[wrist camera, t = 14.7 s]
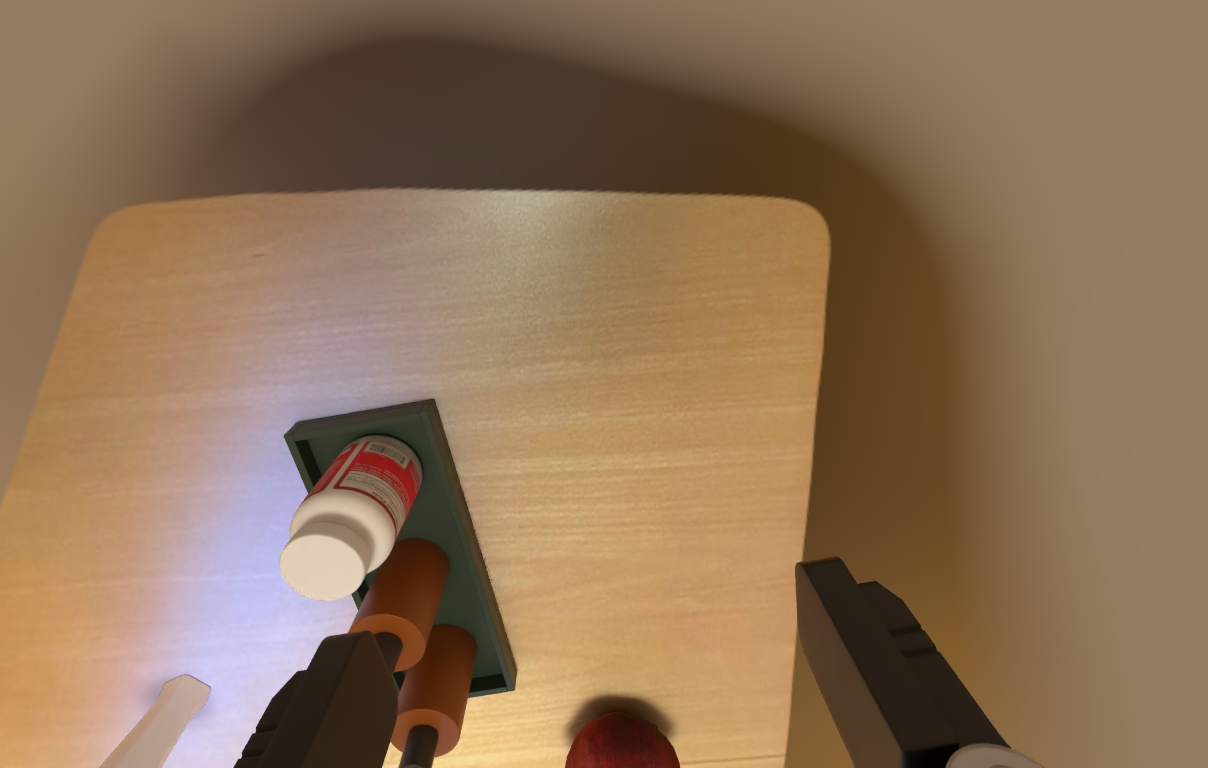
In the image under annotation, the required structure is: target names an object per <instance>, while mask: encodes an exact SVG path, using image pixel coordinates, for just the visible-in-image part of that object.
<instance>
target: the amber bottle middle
mask: <svg viewBox="0 0 1208 768" xmlns="http://www.w3.org/2000/svg"><path fill="white" fill-rule="evenodd" d="M449 570H450V564H449V560H448V557H447V556H446V554H445V552H444V551H443V550H442V549H441V548H440V547H438V546H437V545H436V544H434V543H432V542H430V541H427V540H423V539H405V540H402V541H399V542H397V543H395V544H394V546H393V548H392V550H391V552H390V554H389V556H388V557H387V559H386V560H385V561H384V562H383V563H382V564H381V565H380V567H379V569H378V571H377V573H376V575H375V577H374V579H373V581H372V584H371V586H370V588H369V590H368V592H367V594H366V596H365V598H364V600H363V602H362V605H361V607H360V609H359V611H358V613H357V615H356V617H355V619H354V621H353V623H352V626H351V628H350V630H349V632H348V633H353V632H359V631H365V630H368V631H371V632H372V633H373V635H374V636H375V638H376V641H377V643H378V645H379V648H380V650H381V652H382V655H383V657H384V659H385V662H386V664H387V667H388V669H389V671H390V674H391V676H393V673H394V672H398V671H403V670H406V669H408V668H410V667H412V666H414V665H415V664H417V663H418V662H419V661H420V660H421V658H422V657H423V655H424V653H425V649H426V646H427V643H428V639H429V636H430V633H431V630H432V626H433V623H434V620H435V617H436V613H437V610H438V607H439V603H440V600H441V597H442V594H443V590H444V587H445V584H446V581H447V577H448V574H449Z"/></svg>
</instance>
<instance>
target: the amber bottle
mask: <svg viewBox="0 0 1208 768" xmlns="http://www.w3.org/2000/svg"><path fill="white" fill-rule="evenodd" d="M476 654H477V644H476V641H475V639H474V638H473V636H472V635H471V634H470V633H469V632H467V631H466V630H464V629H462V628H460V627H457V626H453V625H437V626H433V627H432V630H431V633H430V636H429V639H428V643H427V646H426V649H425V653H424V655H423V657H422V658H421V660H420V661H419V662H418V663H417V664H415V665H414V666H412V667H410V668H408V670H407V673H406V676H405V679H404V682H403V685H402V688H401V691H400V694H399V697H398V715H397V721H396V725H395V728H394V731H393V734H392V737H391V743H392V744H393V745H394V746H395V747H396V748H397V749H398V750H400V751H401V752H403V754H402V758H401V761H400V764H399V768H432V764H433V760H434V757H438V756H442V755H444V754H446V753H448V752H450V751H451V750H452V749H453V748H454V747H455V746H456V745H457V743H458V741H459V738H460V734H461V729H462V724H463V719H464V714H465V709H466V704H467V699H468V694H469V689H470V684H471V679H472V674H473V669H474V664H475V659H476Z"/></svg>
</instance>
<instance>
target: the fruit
mask: <svg viewBox="0 0 1208 768" xmlns="http://www.w3.org/2000/svg"><path fill="white" fill-rule="evenodd" d="M565 768H680V764H679V761H678V758H677V755H676V753H675V750H674V747H673V746H672V744H671V743H670V742H669V740H668V739H667V738H666V737H665V736H664V735H663V734H662V733H661V732H660V731H659V730H658V727H657V726H656V725H654V724H651V723H650V722H648V721H647V720H644V719H642V718H640V717H636V716H633V715H629V714H626V713H621V712H611V713H608V714H606V715H603V716H600V717H598V718H596V719H594V720H592V721H591V722H589V723H587V724H586V725H585V726H584V727H583V728H582V729H581V731H580V732H579V733H578V735H577V736H576V738H575V740H574V742H573V744H572V746H571V749H570V751H569V753H568V756H567V760H566V765H565Z"/></svg>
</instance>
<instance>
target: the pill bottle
mask: <svg viewBox="0 0 1208 768" xmlns="http://www.w3.org/2000/svg"><path fill="white" fill-rule="evenodd" d="M421 483H422V467H421V464H420V461H419V459H418V457H417V456H416V454H415V453H414V452H413V450H412V449H411V448H410V447H408V446H407V445H406V444H405V443H403V442H401V441H399V440H397V439H395V438H392V437H388V436H383V435H369V436H364V437H361V438H358V439H356V440H354V441H353V442H351V443H349V444H348V445H347V446H346V447H345V448H344V449H343V450H342V451H341V453H340V454H339V455H338V456H337V458H336V459H335V460H334V462H333V463H332V464H331V466H330V467H329V468H328V470H327V471H326V472H325V474H324V475H323V476H322V477H321V479H320V480H319V481H318V483H317V484H316V485H315V486H314V488H313V489H312V490H311V492H310V493H309V494H308V495H307V497H306V498H305V499H304V501H303V502H302V503H301V505H300V506H299V508H298V509H297V511H296V512H295V514H294V516H293V518H292V521H291V526H290V538H291V539H290V541H289V542H288V543H287V545H286V546H285V548H284V549H283V551H282V553H281V556H280V562H279V564H280V571H281V574H282V576H283V578H284V580H285V581H286V582H287V583H288V585H289V586H290V587H291V588H293V589H294V590H295V591H296V592H298V593H300V594H302V595H304V596H306V597H309V598H312V599H316V600H323V601H328V600H329V601H331V600H337V599H341V598H344V597H347V596H349V595H350V594H352V593H353V592H354V591H356V590H357V589H358V588H359V586H360V585H361V583H362V582H363V580H364V578H365V576H366V574H367V573H369V572H371V571H373V570H375V569H376V568H377V567H379V566H380V565H381V564H382V563H383V562H384V561H385V560H386V559H387V557H388V556H389V554H390V552H391V550H392V548H393V546H394V544H395V542H396V540H397V537H398V535H399V533H400V531H401V529H402V526H403V524H404V522H405V520H406V518H407V515H408V513H409V511H410V509H411V507H412V505H413V502H414V500H415V498H416V496H417V493H418V491H419V489H420V486H421Z"/></svg>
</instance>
